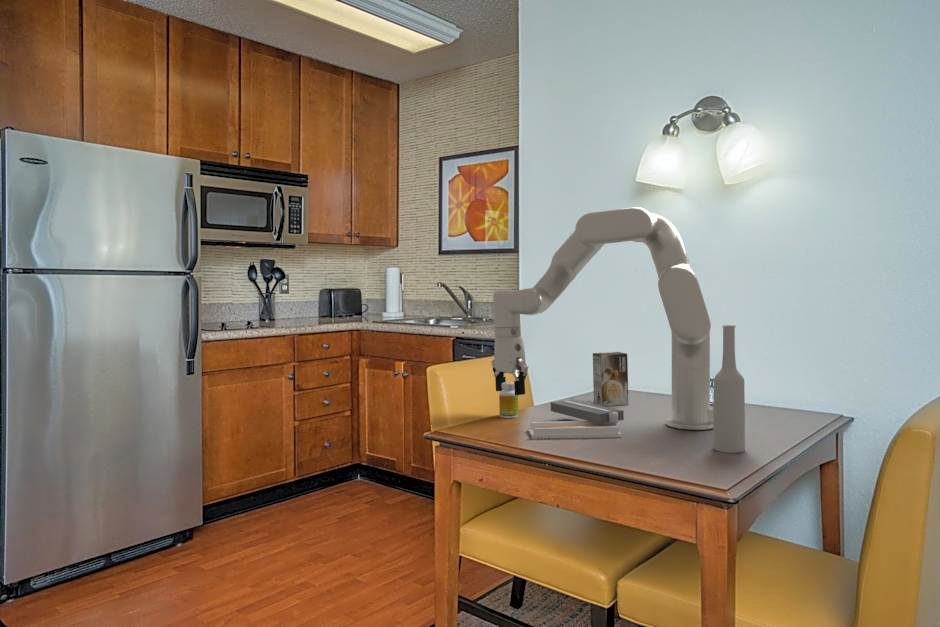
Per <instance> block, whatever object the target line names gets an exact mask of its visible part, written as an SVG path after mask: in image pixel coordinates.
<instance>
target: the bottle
mask: <svg viewBox="0 0 940 627" xmlns="http://www.w3.org/2000/svg"><path fill="white" fill-rule="evenodd" d="M736 327H737V326H736V325H735V324H724V325H722V329H723V330H722V359H721V362H722V363H721V368H720V370H719V371H718V372H717V373H716V374H715V376H713V410H714V412H713V428H712V430H713V431H712V435H713V438H712V439H713V440H712V441H713V445H712V446H713V447H712V448H713V450H714V451H716V452H719V453H725V454H741V453H744V452H745V451H746V431H745V430H746V421H745V420H746V419H745V418H746V414H745V412H746V411H745V410H746V408H745V404H746V403H745V400H746V399H745V378H744V376H743V375H742V374H741V373H740V371H739V370H738V369H737V363H736V362H737V361H736V340H735V339H736V336H735V334H736V333H735V331H736V329H735V328H736Z"/></svg>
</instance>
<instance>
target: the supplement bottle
mask: <svg viewBox="0 0 940 627" xmlns="http://www.w3.org/2000/svg"><path fill="white" fill-rule="evenodd" d="M498 400H499V417H500V418H502V419H516V418H518V417H519V395H515V390H514V381H513V382H512V381H506V382H504V383H502V390H501V391H499V399H498Z"/></svg>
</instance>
